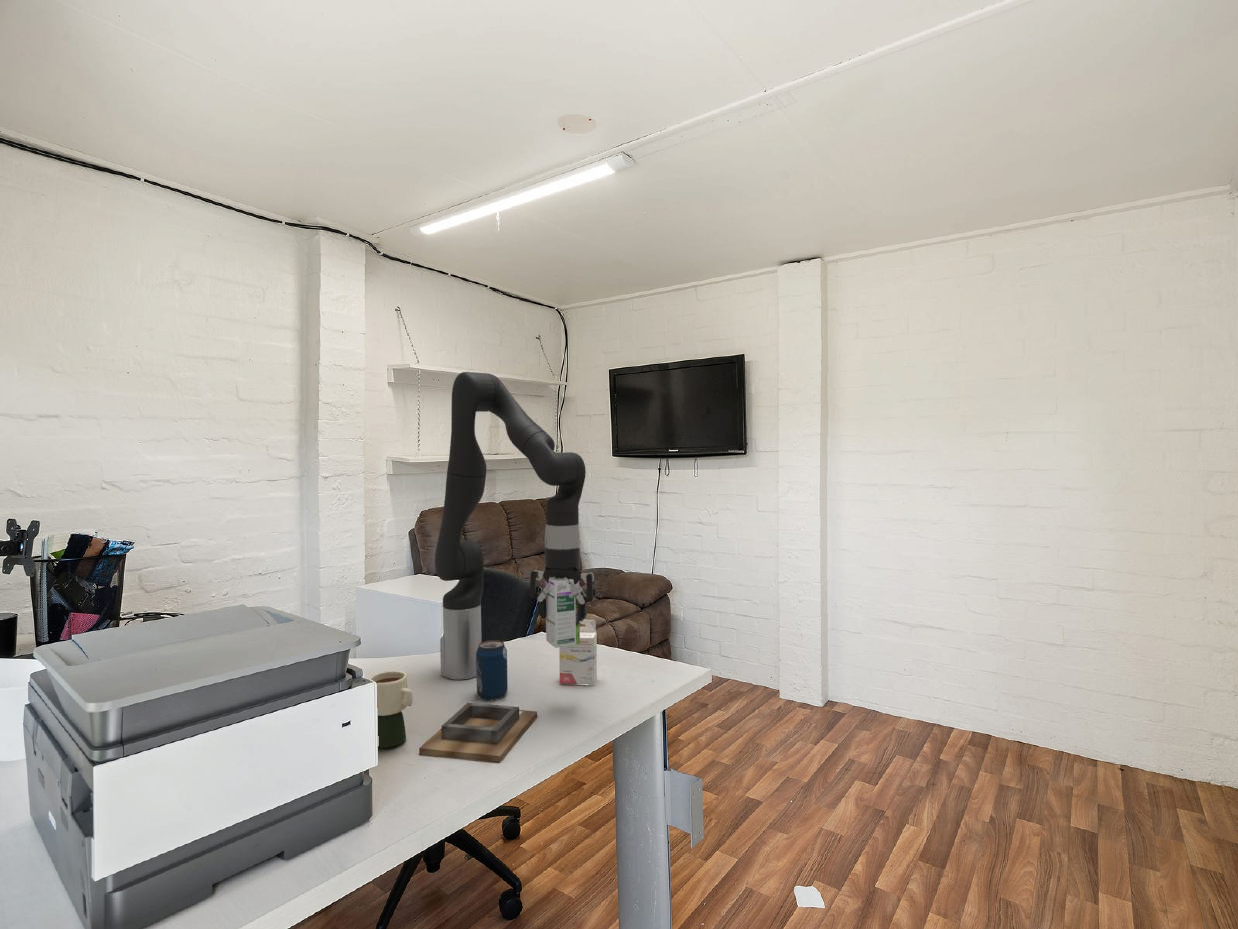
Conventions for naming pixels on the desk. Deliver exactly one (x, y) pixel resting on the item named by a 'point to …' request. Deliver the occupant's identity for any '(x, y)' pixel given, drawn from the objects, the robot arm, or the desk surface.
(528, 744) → the desk surface
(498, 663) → the soda can
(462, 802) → the desk surface
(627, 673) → the desk surface
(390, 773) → the desk surface
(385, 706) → the character mug
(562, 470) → the robot arm
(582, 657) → the ink cartridge box
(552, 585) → the syrup box
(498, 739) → the base board
